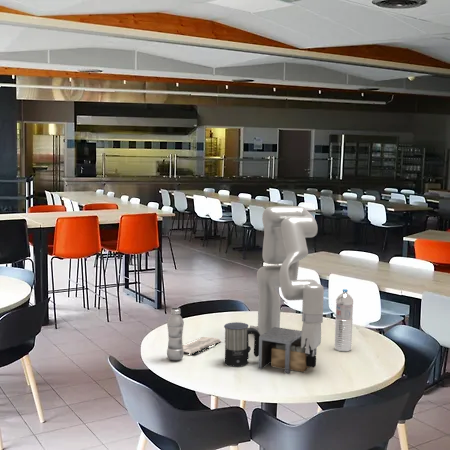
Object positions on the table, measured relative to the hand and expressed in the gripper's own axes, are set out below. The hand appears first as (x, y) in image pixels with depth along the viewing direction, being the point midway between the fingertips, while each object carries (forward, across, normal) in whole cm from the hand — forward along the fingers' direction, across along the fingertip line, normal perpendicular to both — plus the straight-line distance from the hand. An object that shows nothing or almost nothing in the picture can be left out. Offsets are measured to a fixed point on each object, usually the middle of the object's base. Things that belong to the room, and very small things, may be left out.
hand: (311, 366), depth 233 cm
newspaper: (+2, -5, -50) cm, 50 cm away
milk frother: (+2, +2, -29) cm, 29 cm away
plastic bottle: (+2, +14, -50) cm, 52 cm away
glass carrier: (+2, 0, -8) cm, 8 cm away
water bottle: (+2, -31, +3) cm, 31 cm away
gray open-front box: (+2, 0, -12) cm, 12 cm away
